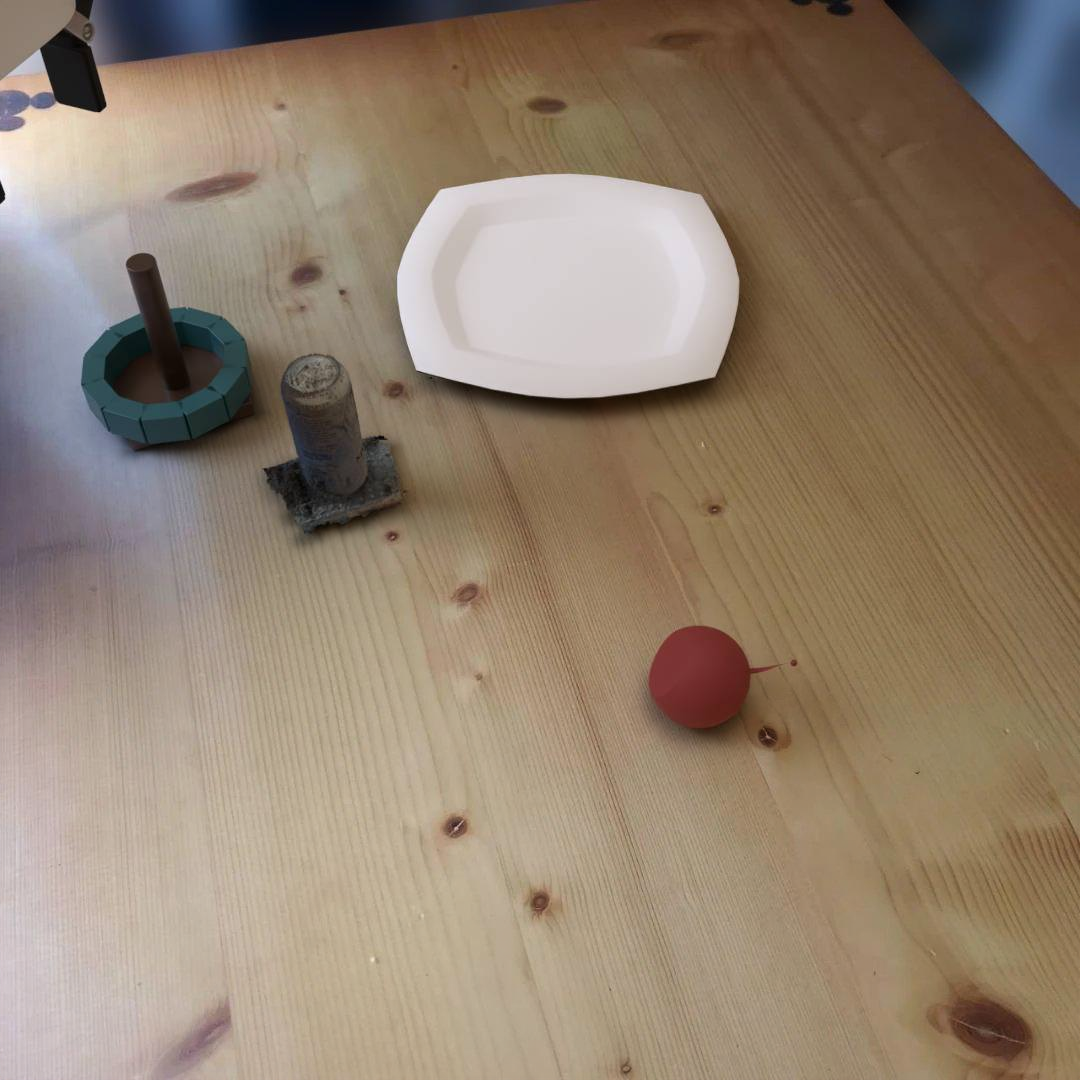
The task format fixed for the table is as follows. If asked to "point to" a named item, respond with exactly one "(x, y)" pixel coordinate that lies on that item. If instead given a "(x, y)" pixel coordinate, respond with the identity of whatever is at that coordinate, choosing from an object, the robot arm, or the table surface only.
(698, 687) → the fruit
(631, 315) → the plate
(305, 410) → the can on ragged base
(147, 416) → the ring
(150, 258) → the post
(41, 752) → the table surface
